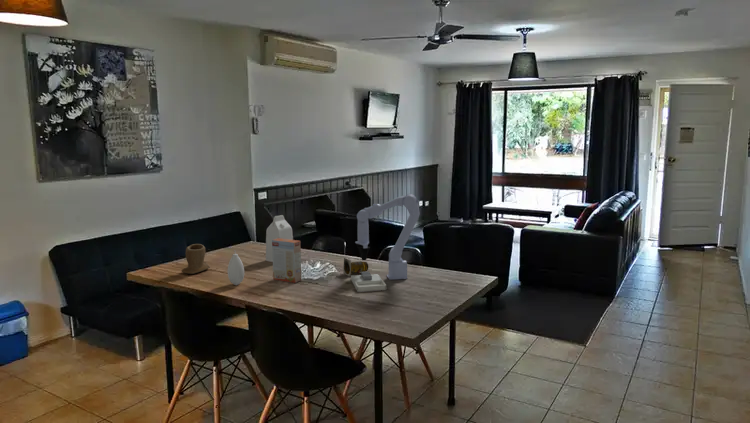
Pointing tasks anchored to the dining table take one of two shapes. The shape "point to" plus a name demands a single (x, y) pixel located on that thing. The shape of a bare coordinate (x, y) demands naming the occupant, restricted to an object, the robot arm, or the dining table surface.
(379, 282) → the board
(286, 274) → the cracker box
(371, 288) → the tray
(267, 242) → the milk
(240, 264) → the white vase
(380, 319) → the dining table surface
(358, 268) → the condiment
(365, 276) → the tile front
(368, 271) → the tile rear
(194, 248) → the stone cup
